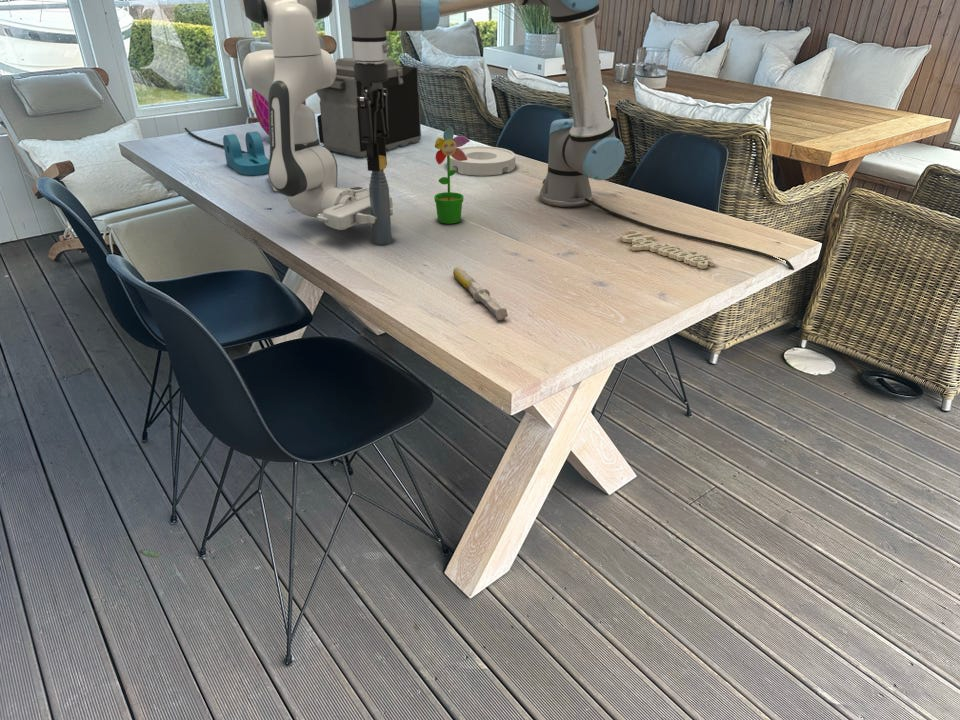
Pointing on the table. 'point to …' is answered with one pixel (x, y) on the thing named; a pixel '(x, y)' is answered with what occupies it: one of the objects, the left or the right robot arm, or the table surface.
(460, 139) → the potted flower
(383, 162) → the cap
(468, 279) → the syringe
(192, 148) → the table surface
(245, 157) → the camera mount
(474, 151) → the ashtray
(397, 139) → the cooler box
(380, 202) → the bottle
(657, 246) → the decorative sign
